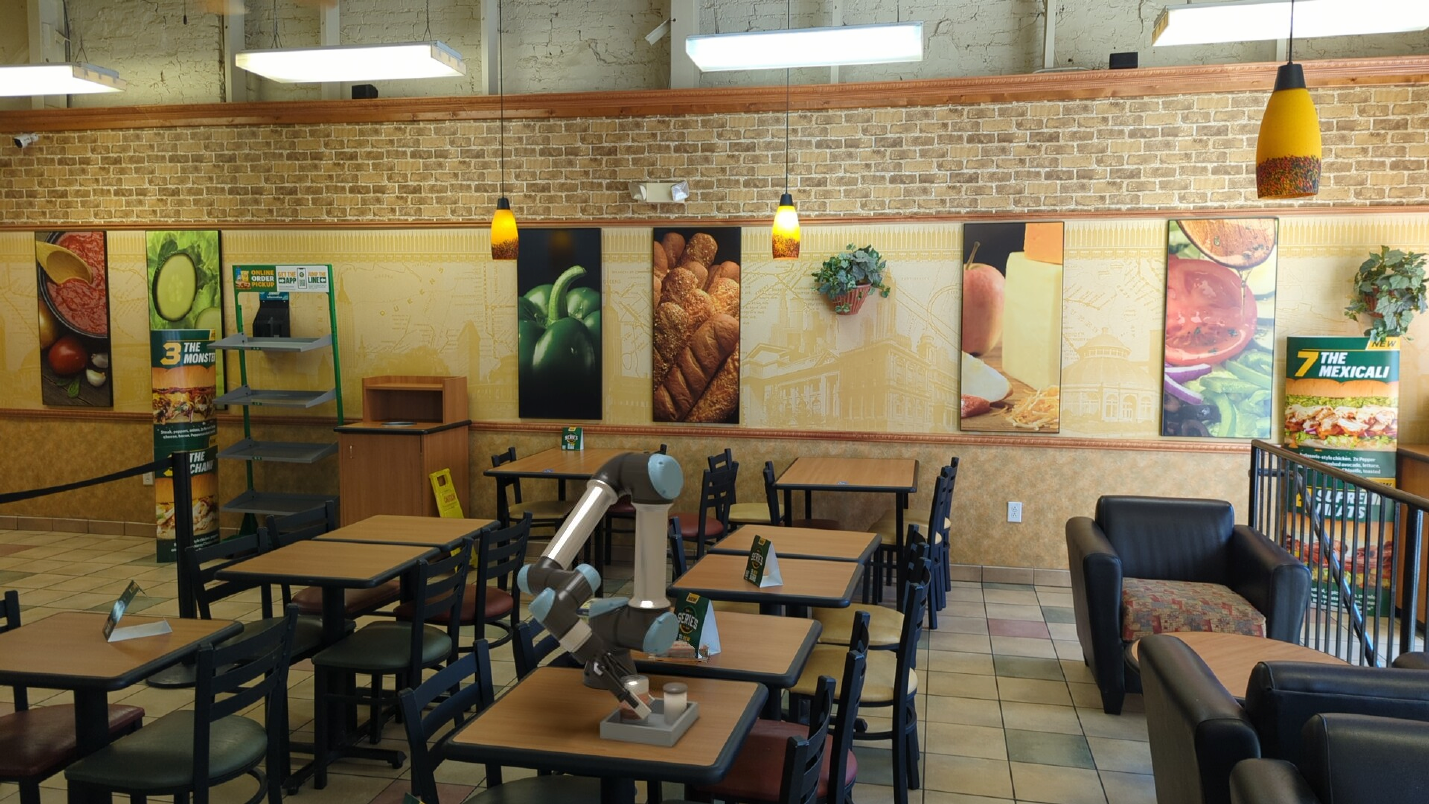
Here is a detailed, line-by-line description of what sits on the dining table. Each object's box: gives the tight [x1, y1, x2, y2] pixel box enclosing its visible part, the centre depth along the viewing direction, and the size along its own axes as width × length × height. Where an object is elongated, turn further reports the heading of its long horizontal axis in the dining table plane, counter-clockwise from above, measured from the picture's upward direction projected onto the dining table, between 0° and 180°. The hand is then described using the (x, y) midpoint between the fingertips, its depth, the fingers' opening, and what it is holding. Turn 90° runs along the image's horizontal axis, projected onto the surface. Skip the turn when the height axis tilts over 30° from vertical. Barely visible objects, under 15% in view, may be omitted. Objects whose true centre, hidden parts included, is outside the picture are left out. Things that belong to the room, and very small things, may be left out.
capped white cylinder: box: [663, 690, 688, 725], centre depth 245 cm, size 6×6×8 cm
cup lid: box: [662, 682, 688, 694], centre depth 245 cm, size 6×6×1 cm
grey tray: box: [599, 696, 699, 748], centre depth 241 cm, size 18×20×4 cm
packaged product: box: [648, 640, 709, 662], centre depth 300 cm, size 18×5×10 cm
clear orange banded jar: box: [618, 674, 650, 727], centre depth 239 cm, size 7×7×11 cm
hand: (648, 709), depth 239 cm, fingers closed on clear orange banded jar, 7 cm apart
